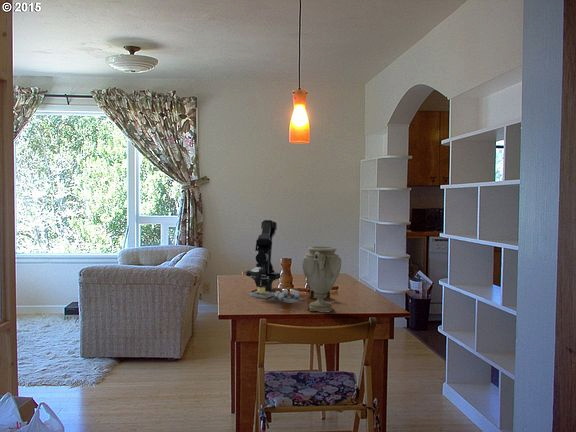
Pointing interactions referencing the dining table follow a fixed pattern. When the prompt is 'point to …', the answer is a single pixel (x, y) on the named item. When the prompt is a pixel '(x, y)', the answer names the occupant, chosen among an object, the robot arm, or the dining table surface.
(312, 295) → the ammunition clip
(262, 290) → the brass nut
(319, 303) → the urn
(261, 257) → the robot arm
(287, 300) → the spacer board
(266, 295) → the tray
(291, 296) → the spacer posts
